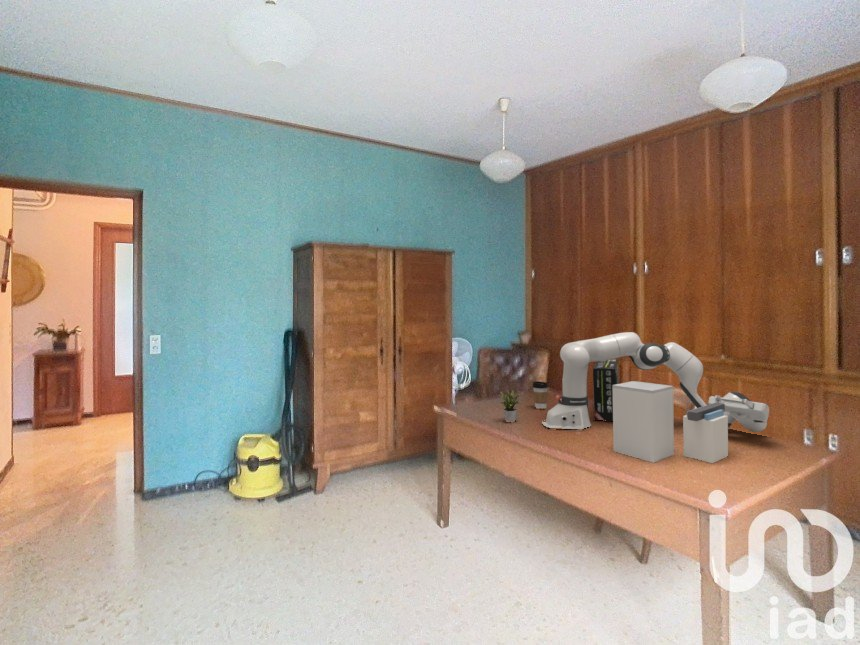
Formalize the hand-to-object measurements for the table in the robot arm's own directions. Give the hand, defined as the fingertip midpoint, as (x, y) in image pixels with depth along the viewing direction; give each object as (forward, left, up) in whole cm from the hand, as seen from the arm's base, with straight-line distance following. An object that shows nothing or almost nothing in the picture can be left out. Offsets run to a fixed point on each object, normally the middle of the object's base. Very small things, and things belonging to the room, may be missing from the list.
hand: (730, 398), depth 177 cm
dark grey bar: (-15, -12, -4) cm, 19 cm away
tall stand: (-37, -8, -19) cm, 42 cm away
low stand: (-16, -12, -19) cm, 27 cm away
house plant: (-81, +40, -19) cm, 92 cm away
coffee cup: (-62, +68, -19) cm, 94 cm away
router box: (-30, +55, -19) cm, 65 cm away
